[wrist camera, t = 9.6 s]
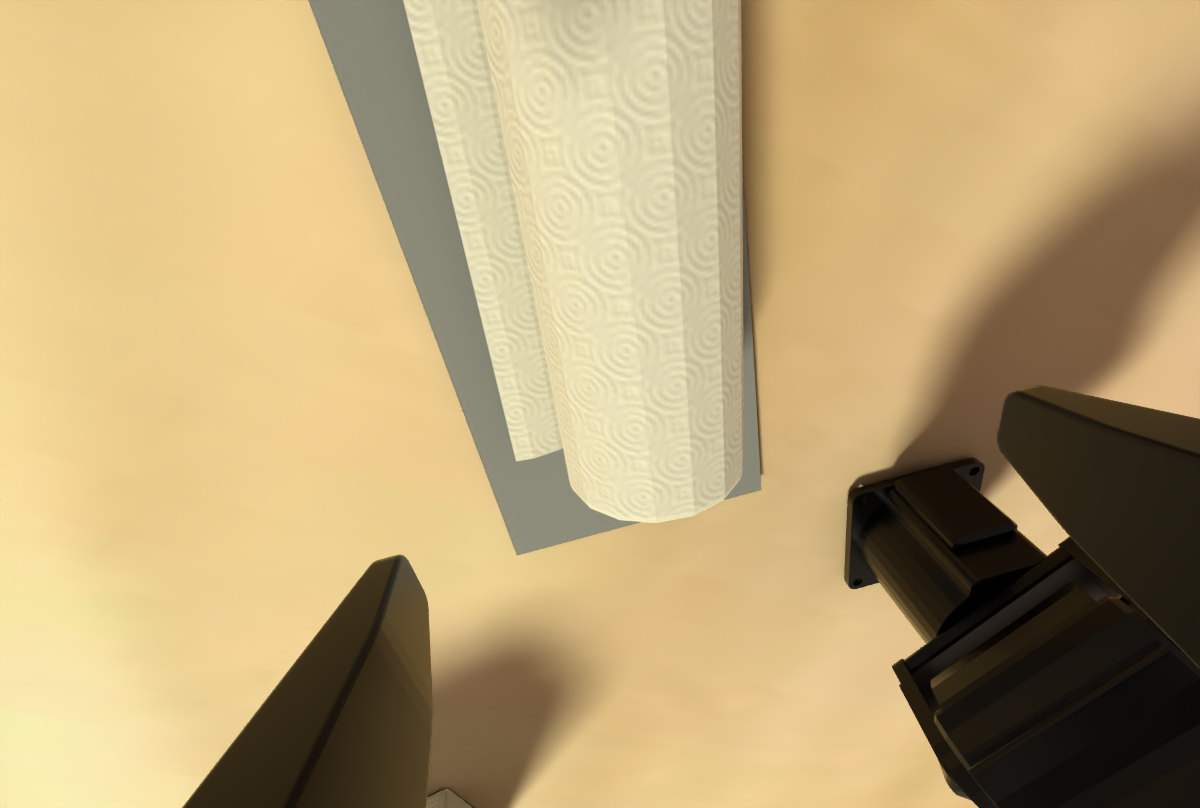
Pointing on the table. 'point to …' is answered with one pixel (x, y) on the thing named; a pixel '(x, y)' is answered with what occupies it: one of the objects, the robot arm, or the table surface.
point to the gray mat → (466, 269)
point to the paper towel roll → (602, 232)
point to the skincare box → (446, 800)
